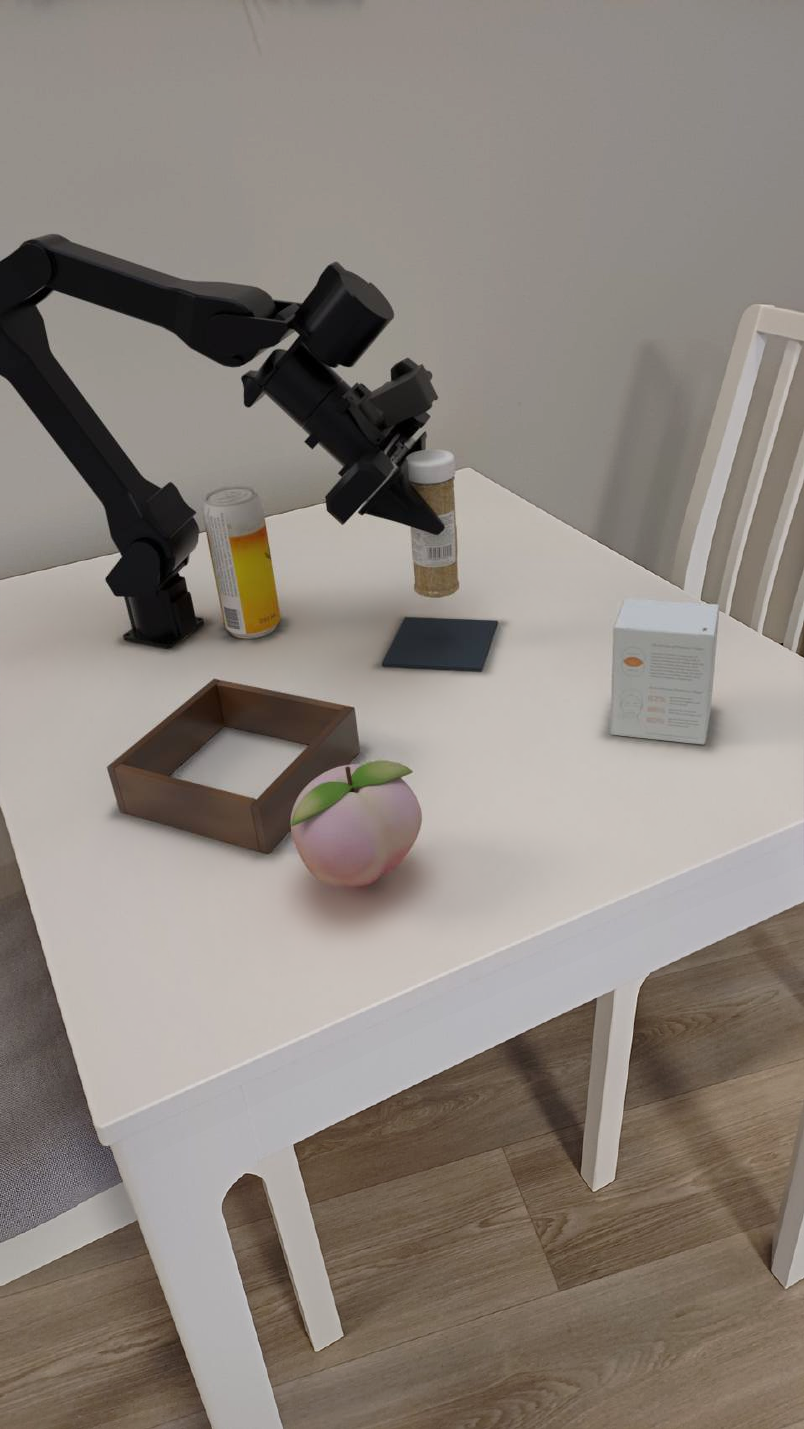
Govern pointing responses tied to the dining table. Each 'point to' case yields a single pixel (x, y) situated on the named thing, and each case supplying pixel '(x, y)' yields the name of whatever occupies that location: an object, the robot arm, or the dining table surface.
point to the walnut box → (220, 812)
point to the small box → (663, 669)
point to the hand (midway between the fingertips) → (446, 522)
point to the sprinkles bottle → (436, 487)
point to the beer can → (241, 560)
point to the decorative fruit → (356, 822)
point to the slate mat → (441, 644)
